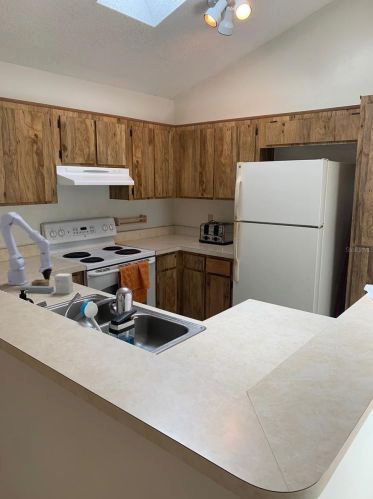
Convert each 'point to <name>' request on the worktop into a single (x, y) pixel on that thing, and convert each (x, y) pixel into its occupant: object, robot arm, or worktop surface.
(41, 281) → the walnut block
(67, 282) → the small box
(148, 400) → the worktop surface
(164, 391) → the worktop surface
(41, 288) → the board
